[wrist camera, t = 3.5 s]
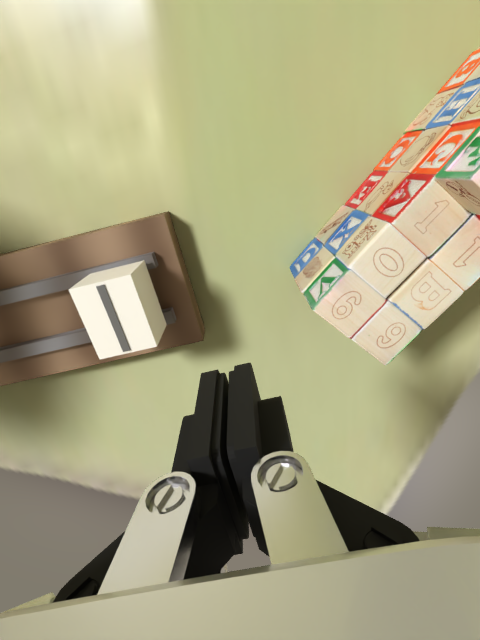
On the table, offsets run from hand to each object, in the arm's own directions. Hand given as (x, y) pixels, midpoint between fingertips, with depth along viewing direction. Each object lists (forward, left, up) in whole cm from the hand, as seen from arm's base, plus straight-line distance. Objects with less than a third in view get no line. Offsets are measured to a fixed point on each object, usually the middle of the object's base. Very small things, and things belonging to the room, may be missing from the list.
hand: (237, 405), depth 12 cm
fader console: (+18, 0, -18) cm, 26 cm away
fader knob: (+8, 0, -16) cm, 18 cm away
